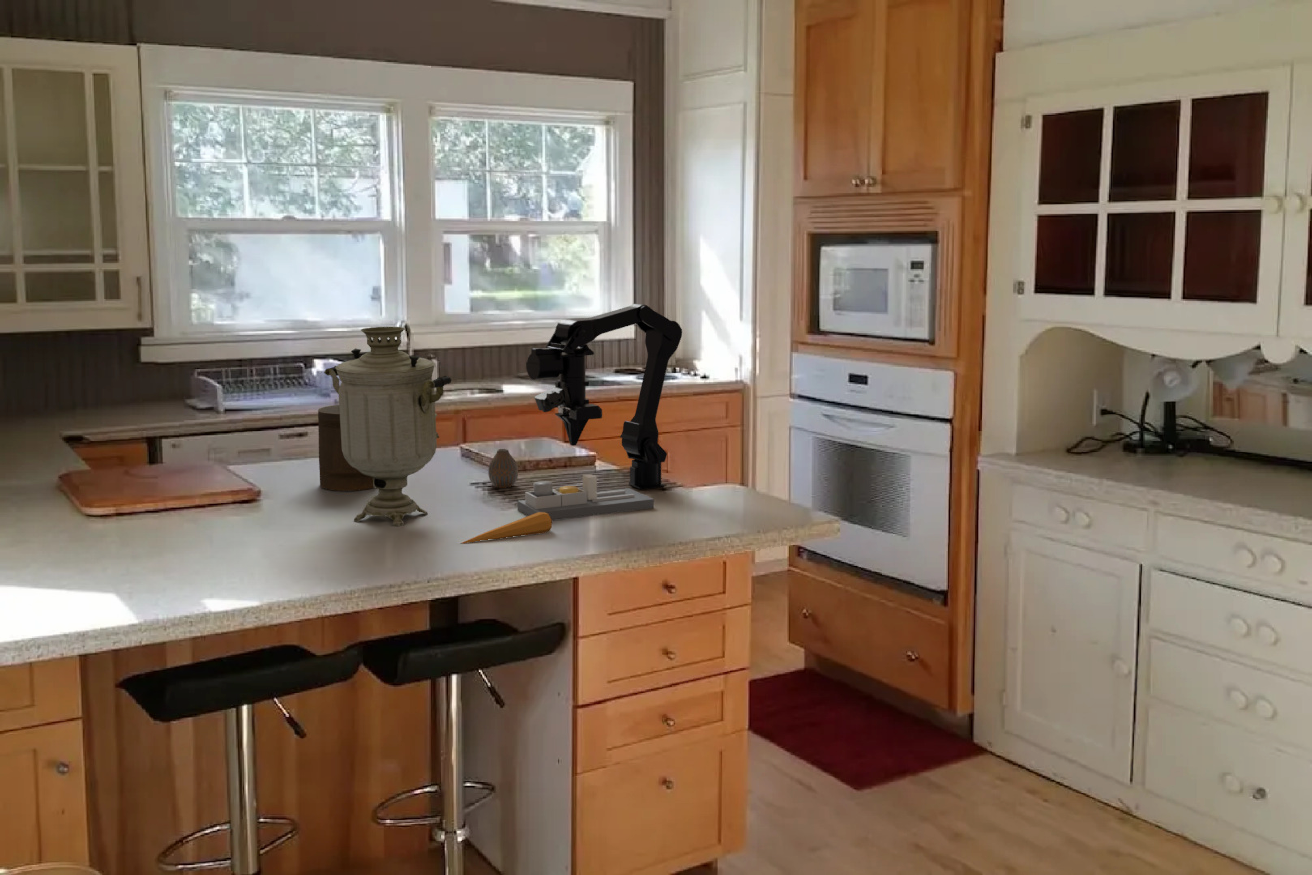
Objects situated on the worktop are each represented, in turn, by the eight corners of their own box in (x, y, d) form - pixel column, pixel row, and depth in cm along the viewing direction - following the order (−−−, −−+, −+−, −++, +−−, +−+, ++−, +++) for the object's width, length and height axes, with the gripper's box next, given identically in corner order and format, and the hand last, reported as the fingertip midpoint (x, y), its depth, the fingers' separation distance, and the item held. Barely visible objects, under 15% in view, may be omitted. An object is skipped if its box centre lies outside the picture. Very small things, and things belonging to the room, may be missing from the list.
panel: (629, 496, 284) (629, 477, 283) (653, 508, 273) (653, 487, 272) (517, 509, 271) (517, 489, 271) (538, 521, 261) (538, 500, 260)
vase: (521, 483, 297) (520, 447, 295) (514, 490, 290) (514, 452, 289) (492, 482, 298) (491, 446, 296) (485, 489, 291) (484, 452, 289)
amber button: (573, 498, 273) (573, 485, 272) (581, 502, 269) (581, 488, 269) (556, 500, 271) (556, 487, 270) (564, 504, 267) (563, 490, 267)
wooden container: (397, 482, 298) (394, 391, 294) (351, 494, 285) (347, 399, 281) (353, 475, 305) (349, 386, 301) (306, 486, 293) (301, 393, 289)
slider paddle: (591, 496, 274) (590, 474, 273) (596, 499, 271) (596, 476, 271) (582, 497, 273) (582, 475, 272) (588, 500, 271) (588, 477, 270)
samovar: (496, 516, 265) (492, 328, 258) (393, 540, 247) (385, 337, 239) (412, 494, 285) (406, 318, 278) (310, 514, 267) (301, 326, 259)
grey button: (548, 494, 270) (547, 480, 269) (555, 497, 266) (555, 484, 266) (530, 496, 268) (530, 482, 267) (537, 499, 264) (537, 486, 264)
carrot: (548, 533, 256) (543, 511, 256) (557, 529, 252) (551, 508, 252) (458, 556, 246) (452, 534, 246) (466, 553, 242) (459, 530, 242)
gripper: (523, 373, 282) (524, 441, 285) (555, 383, 266) (556, 455, 269) (568, 370, 287) (569, 437, 290) (603, 380, 271) (603, 451, 274)
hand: (573, 445), depth 281 cm, fingers closed
